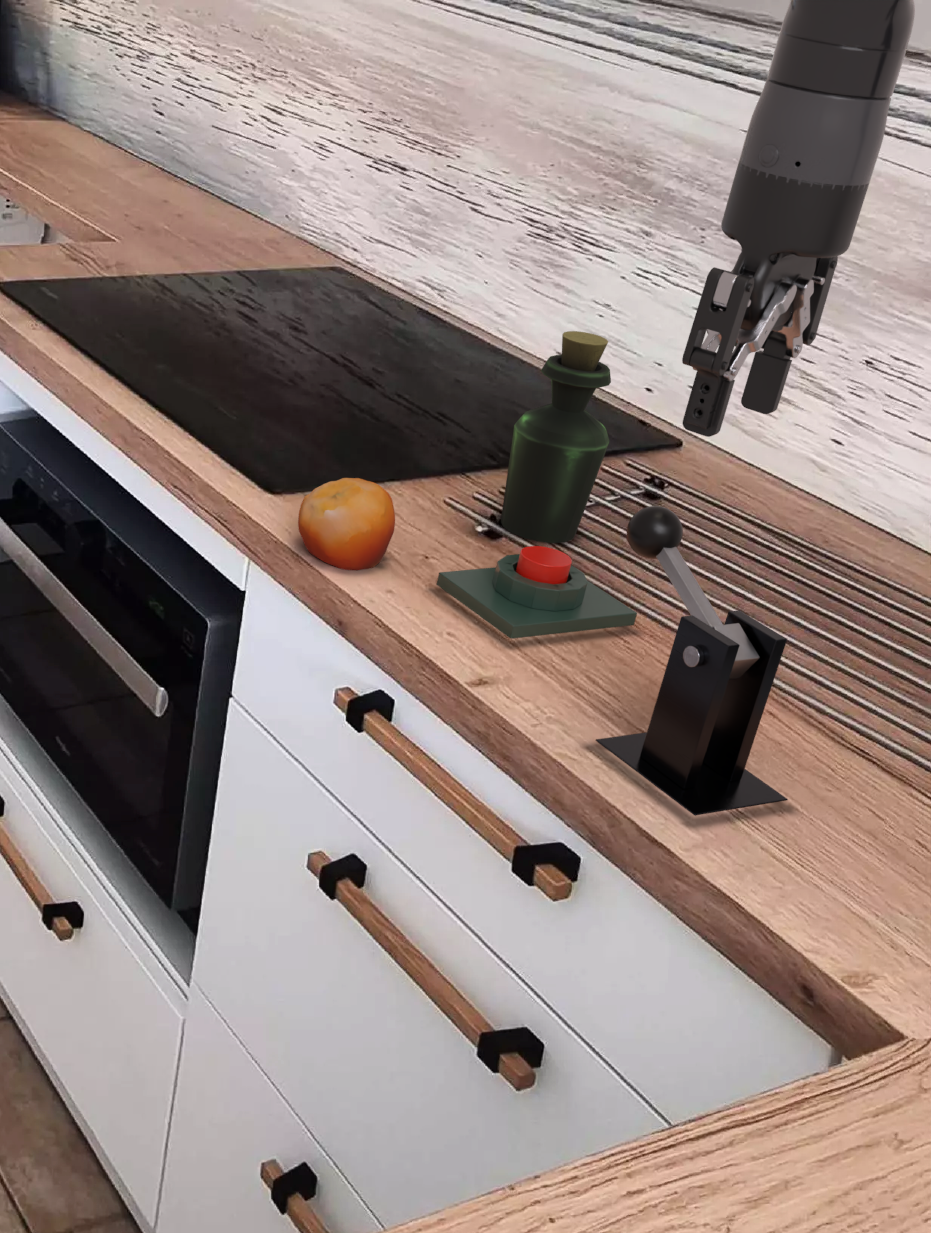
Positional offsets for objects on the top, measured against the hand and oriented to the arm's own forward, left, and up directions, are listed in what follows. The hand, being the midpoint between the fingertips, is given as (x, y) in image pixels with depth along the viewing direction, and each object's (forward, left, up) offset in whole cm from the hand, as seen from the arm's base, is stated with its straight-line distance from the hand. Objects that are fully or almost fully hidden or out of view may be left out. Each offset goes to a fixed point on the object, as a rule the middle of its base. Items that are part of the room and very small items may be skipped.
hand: (729, 420), depth 115 cm
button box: (-5, -19, -24) cm, 31 cm away
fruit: (+5, -32, -24) cm, 40 cm away
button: (-5, -19, -20) cm, 28 cm away
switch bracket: (+1, +6, -24) cm, 24 cm away
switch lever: (+1, 0, -13) cm, 13 cm away
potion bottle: (-17, -34, -24) cm, 45 cm away
